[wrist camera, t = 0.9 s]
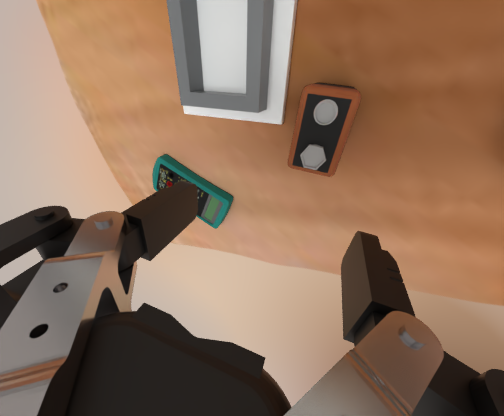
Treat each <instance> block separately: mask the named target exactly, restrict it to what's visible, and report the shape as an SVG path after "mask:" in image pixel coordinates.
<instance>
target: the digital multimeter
mask: <svg viewBox="0 0 504 416" xmlns="http://www.w3.org/2000/svg"><path fill="white" fill-rule="evenodd" d="M183 177H184V178H183ZM181 180H182V181H186V182H189V183H193V184H195V185H196V186H198V187H197V196H198V212H197V215H196V216H197V217H198V218H200V219H201V220H203V221H204V222H206V223H207V224H209V225H210V226H212V227H213V228H218V226H219V225H220V224H221V223H222V221H223V220H224V218H225V217H226V215H227V213H228V211H229V209H230V206H231V204H232V201H233V196H232V195H230V194H228V193H226V192H225V191H223V190H221V189H220V188H218V187H216V186H214V185H213V184H211V183H209V182H208V181H206V180H205V179H203V178H201V177H200V176H198V175H197V174H195V173H193V172H192V171H191V170H189V169H188V168H186V167H185V166H183V165H181V164H180V163H178V162H177V161H176V160H174V159H173V158H171V157H170V156H169V155H167V154H165V155H163V156H160V157H158V159H157V161H156V163H155V165H154V168H153V187H154V189H155V190H156V191H159V190H161V189H164V188H168V187H171V186H172V185H174V184H176V183H177V182H179V181H181Z"/></svg>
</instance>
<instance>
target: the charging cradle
mask: <svg viewBox="0 0 504 416" xmlns="http://www.w3.org/2000/svg"><path fill="white" fill-rule="evenodd" d="M297 1H298V0H167V7H168V14H169V21H170V28H171V35H172V43H173V50H174V57H175V64H176V71H177V78H178V85H179V93H180V100H181V105H183V107H184V114H192V115H201V116H210V117H219V118H228V119H237V120H246V121H255V122H264V123H273V124H283V123H284V116H285V107H286V98H287V89H288V80H289V71H290V63H291V54H292V45H293V36H294V27H295V18H296V10H297Z"/></svg>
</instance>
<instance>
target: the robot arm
mask: <svg viewBox="0 0 504 416" xmlns="http://www.w3.org/2000/svg"><path fill="white" fill-rule="evenodd" d="M197 212H198V196H197V186H196V185H195V184H193V183H189V182H186V181H182V180H181V181H179V182H177V183H176V184H174V185H172V186H171V187H168V188H164V189H161V190H159V191H157V192H155V193H154V194H152V195H150V196H149V197H147V198H146V199H144V200H142V201H140V202H139V203H137V204H135V205H134V206H132V207H130V208H129V209H127V210H125V211H123V212H122V213H119V212H115V211H106V212H101V213H97V214H94V215H92V216H90V217H88V218H87V219H76V218H71V216H70V214H69V211H68V209H67V208H65V207H62V206H48V207H43V208H39V209H36V210H33V211H30V212H28V213H26V214H24V215H22V216H19V217H17V218H15V219H13V220H10V221H8V222H6V223H3V224H1V225H0V268H2V267H3V266H4V265H6V264H8V263H9V262H11V261H13V260H15V259H16V258H18V257H20V256H22V255H23V254H25V253H27V252H28V251H30V250H32V249H34V248H36V249H37V250H38V252H39V253H40V255H41V257H42V258H43V260H42V261H40V262H39V263H37V264H36V265H34V266H32V267H31V268H29V269H28V270H26V271H24V272H23V273H21V274H20V275H18V276H17V277H15V278H14V279H12V280H10V281H9V282H7V283H6V284H4V285H2V286H1V285H0V416H504V371H502V370H498V369H491V370H488V371H486V372H484V373H483V374H480V373H478V372H476V371H475V370H473V369H472V368H470V367H468V366H467V365H465V364H464V363H462V362H460V361H459V360H457V359H456V358H454V357H452V356H451V355H449V354H448V353H446V352H445V351H443V348H442V346H441V344H440V342H439V340H438V338H437V337H436V335H435V334H434V333H433V332H432V331H431V329H430V328H429V327H428V326H426V325H425V324H424V323H423V322H422V321H420V320H419V319H417V318H416V317H415V314H414V311H413V308H412V305H411V302H410V299H409V297H408V294H407V291H406V288H405V285H404V283H403V279H402V277H401V274H400V271H399V268H398V265H397V262H396V261H395V260H394V258H393V257H392V256H391V255H390V253H389V252H388V251H385V250H382V249H381V246H380V242H379V239H378V237H377V236H375V235H372V234H368V233H364V232H361V231H357V232H356V234H355V236H354V237H353V239H352V241H351V243H350V245H349V247H348V249H347V251H346V253H345V255H344V257H343V260H342V265H341V280H342V309H343V339H345V340H348V341H350V342H352V343H354V345H355V347H354V348H353V349H352V350H350V351H349V352H348V353H347V354H346V355H344V357H343V358H342V359H341V360H339V361H338V362H337V363H336V364H335V365H334V366H333V367H332V369H330V370H329V371H328V372H327V373H326V374H325V375H324V376H323V377H322V378H321V379H320V380H319V381H318V382H317V383H316V384H315V385H314V386H313V387H312V388H311V390H309V391H308V392H307V393H306V394H305V395H304V396H303V397H302V398H301V399H300V400H299V401H298V402H297V403H296V404H295V405H294V406H293V407H291V405H290V403H289V401H288V399H287V398H286V396H285V394H284V392H283V391H282V389H281V388H280V387H279V385H278V384H277V382H275V380H274V379H273V378H272V377H271V376H270V375H269V374H268V373H267V372H266V371H265V370H264V369H263V365H264V360H265V357H262V356H260V355H258V354H256V353H254V352H252V351H249V350H247V349H245V348H243V347H241V346H238V345H236V344H234V343H231V342H224V341H217V340H209V339H202V338H197V337H195V336H193V335H192V334H191V333H190V332H189V331H188V330H187V329H185V328H184V327H183V326H182V325H181V324H180V323H179V322H178V321H177V320H176V319H175V318H174V317H173V316H172V315H170V314H168V313H166V312H163V311H161V310H159V309H157V308H155V307H152V306H150V305H148V304H146V303H143V305H142V306H141V307H140V308H139V309H138V310H137V311H132V310H131V299H132V293H133V287H134V280H135V275H136V269H137V262H136V261H137V260H138V259H139V258H140V257H141V258H144V259H146V260H149V261H151V260H152V259H153V258H154V257H155V256H156V255H157V254H158V253H159V252H160V251H161V250H162V249H163V248H165V247H166V246H167V245H168V244H169V243H170V242H171V241H172V240H173V239H174V238H175V237H176V236H177V235H178V234H179V233H181V232H182V231H183V230H184V229H185V228H186V227H187V226H188V225H189V224H190V223H191V222H192V221H193V220H194V219H195V217H196V215H197Z"/></svg>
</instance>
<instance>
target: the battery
mask: <svg viewBox="0 0 504 416" xmlns="http://www.w3.org/2000/svg"><path fill="white" fill-rule="evenodd" d="M360 101H361V94H360V93H359V92H358V91H357V89H356V88H354V87H351V86H343V85H335V84H327V83H315V84H310V85H307V86H306V87H305V88H304V89H303V91H302V95H301V99H300V104H299V109H298V114H297V119H296V124H295V128H294V133H293V138H292V143H291V148H290V153H289V158H288V166H289V167H290V168H294V169H298V170H302V171H306V172H311V173H315V174H319V175H324V176H328V177H330V176H333V175H334V174H335V171H336V169H337V166H338V163H339V160H340V158H341V155H342V152H343V149H344V146H345V144H346V141H347V138H348V135H349V132H350V129H351V127H352V124H353V121H354V118H355V115H356V113H357V110H358V107H359V104H360Z"/></svg>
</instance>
